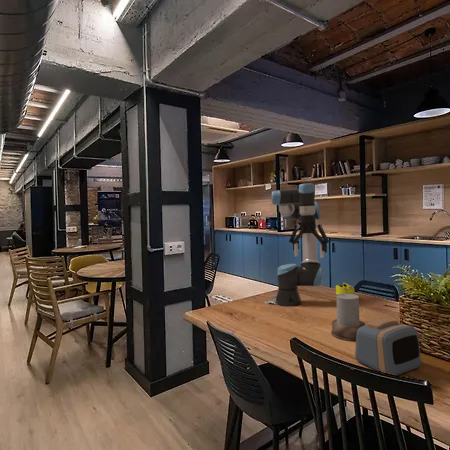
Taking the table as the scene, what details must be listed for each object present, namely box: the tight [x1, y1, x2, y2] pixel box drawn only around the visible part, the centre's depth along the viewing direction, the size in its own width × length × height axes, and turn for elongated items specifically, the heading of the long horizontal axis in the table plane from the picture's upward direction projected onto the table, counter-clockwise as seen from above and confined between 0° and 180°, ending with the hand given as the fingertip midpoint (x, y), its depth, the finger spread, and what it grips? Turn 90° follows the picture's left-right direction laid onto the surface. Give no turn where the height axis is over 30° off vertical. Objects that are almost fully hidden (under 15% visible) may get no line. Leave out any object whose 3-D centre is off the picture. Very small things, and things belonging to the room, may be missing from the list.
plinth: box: [330, 318, 366, 342], centre depth 147 cm, size 15×15×5 cm
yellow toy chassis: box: [335, 282, 356, 295], centre depth 205 cm, size 16×6×8 cm, turn 5°
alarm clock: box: [354, 317, 422, 376], centre depth 118 cm, size 16×16×16 cm
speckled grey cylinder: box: [335, 293, 361, 327], centre depth 146 cm, size 10×10×12 cm
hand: (309, 257), depth 165 cm, fingers open, 13 cm apart
